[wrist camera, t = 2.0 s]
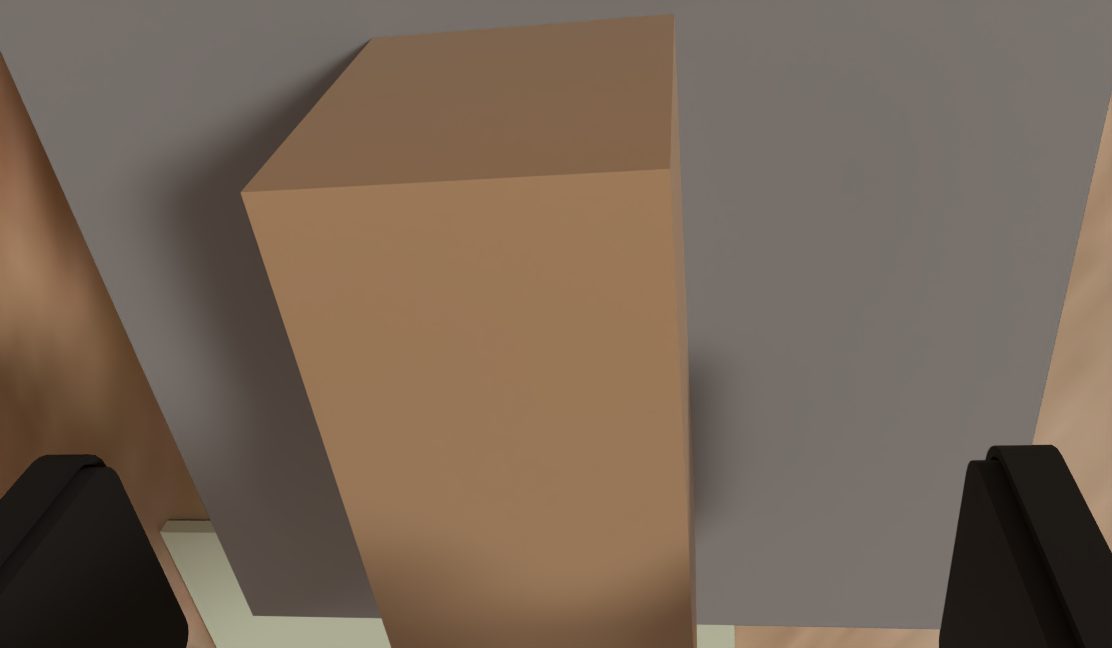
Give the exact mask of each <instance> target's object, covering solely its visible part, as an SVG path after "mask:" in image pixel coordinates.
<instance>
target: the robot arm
mask: <svg viewBox="0 0 1112 648" xmlns="http://www.w3.org/2000/svg"><path fill="white" fill-rule="evenodd" d="M187 642H188V624H187V621H186V618H185V616H184V614H183V612H182V610H181V607H180V605H179V603H178V601H177V599H176V597H175V595H174V593H173V590H172V588H171V586H170V584H169V582H168V580H167V578H166V576H165V574H164V571H163V569H162V567H161V565H160V563H159V561H158V559H157V557H156V555H155V552H154V550H153V548H152V546H151V544H150V542H149V540H148V538H147V535H146V533H145V531H144V529H143V527H142V525H141V523H140V521H139V519H138V516H137V514H136V512H135V510H134V508H133V506H132V504H131V502H130V499H129V497H128V495H127V493H126V491H125V489H124V487H123V485H122V483H121V480H120V478H119V476H118V475H117V473H116V472H115V470H113V469H112V468H110V467H107V466H106V465H105V463H104V462H103V461H102V459H100V458H99V457H97V456H96V455H89V454H86V455H45V456H42V457H39V458H38V459H37V460H35V461H34V462H33V463H32V464H31V465H30V466H29V467H28V468H27V470H26V471H25V472H24V473H23V474H22V475H21V476H20V478H19V479H18V480H17V481H16V482H15V483H14V484H13V486H12V487H11V488H10V489H9V490H8V491H7V493H6V494H5V495H4V496H3V497H2V498H1V499H0V648H186V646H187ZM939 648H1112V553H1111V551H1110V549H1109V547H1108V545H1107V543H1106V541H1105V539H1104V537H1103V535H1102V533H1101V531H1100V529H1099V527H1098V525H1097V523H1096V521H1095V519H1094V517H1093V515H1092V513H1091V511H1090V510H1089V508H1088V506H1087V504H1086V502H1085V500H1084V498H1083V496H1082V494H1081V492H1080V490H1079V488H1078V486H1077V484H1076V482H1075V480H1074V478H1073V476H1072V474H1071V472H1070V470H1069V468H1068V466H1067V465H1066V463H1065V461H1064V459H1063V457H1062V455H1061V453H1060V452H1059V450H1058V449H1057V448H1056V447H1054V446H1053V445H994V446H991V447H990V448H989V450H988V452H987V455H986V459H985V460H972V461H970V462H969V464H968V466H967V470H966V476H965V482H964V488H963V494H962V500H961V506H960V512H959V519H958V525H957V531H956V537H955V543H954V549H953V555H952V561H951V567H950V574H949V580H948V586H947V592H946V598H945V604H944V610H943V616H942V622H941V629H940V635H939Z"/></svg>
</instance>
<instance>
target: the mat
mask: <svg viewBox="0 0 1112 648" xmlns="http://www.w3.org/2000/svg"><path fill="white" fill-rule="evenodd" d="M160 534H161V536H162V538H163V540H164V542H165V544H166V546H167V548H168V550H169V552H170V554H171V556H172V558H173V560H174V562H175V564H176V566H177V568H178V570H179V572H180V574H181V576H182V578H183V580H184V582H185V584H186V587H187V589H188V591H189V593H190V595H191V597H192V599H193V601H194V603H195V605H196V607H197V609H198V611H199V613H200V615H201V617H202V619H203V621H204V623H205V625H206V627H207V629H208V631H209V633H210V635H211V637H212V639H213V641H214V643H215V645H216V647H217V648H391V646H390V643H389V640H388V637H387V634H386V631H385V628H384V625H383V622H382V618H334V617H282V616H253V615H252V613H251V610H250V608H249V606H248V604H247V602H246V599H245V597H244V595H243V593H242V590H241V588H240V586H239V584H238V581H237V579H236V577H235V575H234V572H233V570H232V568H231V566H230V563H229V561H228V559H227V557H226V555H225V552H224V550H223V548H222V546H221V543H220V541H219V539H218V537H217V534H216V532H215V530H214V528H213V525H212V523H211V521H166V523H165V525H164V526H163V528H162V530H161V531H160ZM697 648H735V644H734V625H697Z"/></svg>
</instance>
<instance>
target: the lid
mask: <svg viewBox="0 0 1112 648" xmlns="http://www.w3.org/2000/svg"><path fill="white" fill-rule="evenodd" d="M0 51H1V53H2V56H3V58H4V60H5V62H6V65H7V67H8V69H9V71H10V74H11V76H12V78H13V80H14V83H15V85H16V87H17V89H18V91H19V94H20V96H21V98H22V100H23V103H24V105H25V107H26V109H27V112H28V114H29V116H30V118H31V121H32V123H33V125H34V127H35V130H36V132H37V134H38V136H39V138H40V141H41V143H42V145H43V147H44V150H45V152H46V154H47V156H48V159H49V161H50V163H51V165H52V168H53V170H54V172H55V174H56V176H57V179H58V181H59V183H60V185H61V188H62V190H63V192H64V194H65V197H66V199H67V201H68V203H69V206H70V208H71V210H72V212H73V215H74V217H75V219H76V221H77V223H78V226H79V228H80V230H81V232H82V235H83V237H84V239H85V241H86V244H87V246H88V248H89V250H90V253H91V255H92V257H93V259H94V261H95V264H96V266H97V268H98V270H99V273H100V275H101V277H102V279H103V282H104V284H105V286H106V288H107V291H108V293H109V295H110V297H111V300H112V302H113V304H114V306H115V308H116V311H117V313H118V315H119V317H120V320H121V322H122V324H123V326H124V329H125V331H126V333H127V335H128V338H129V340H130V342H131V344H132V346H133V349H134V351H135V353H136V355H137V358H138V360H139V362H140V364H141V367H142V369H143V371H144V373H145V376H146V378H147V380H148V382H149V385H150V387H151V389H152V391H153V393H154V396H155V398H156V400H157V402H158V405H159V407H160V409H161V411H162V414H163V416H164V418H165V420H166V423H167V425H168V427H169V429H170V432H171V434H172V436H173V438H174V440H175V443H176V445H177V447H178V449H179V452H180V454H181V456H182V458H183V461H184V463H185V465H186V467H187V470H188V472H189V474H190V476H191V478H192V481H193V483H194V485H195V487H196V490H197V492H198V494H199V496H200V499H201V501H202V503H203V505H204V508H205V510H206V512H207V514H208V517H209V519H210V521H211V523H212V525H213V528H214V530H215V532H216V534H217V537H218V539H219V541H220V543H221V546H222V548H223V550H224V552H225V555H226V557H227V559H228V561H229V563H230V566H231V568H232V570H233V572H234V575H235V577H236V579H237V581H238V584H239V586H240V588H241V590H242V593H243V595H244V597H245V599H246V602H247V604H248V606H249V608H250V610H251V613H252V615H253V616H282V617H334V618H382V622H383V625H384V628H385V631H386V634H387V637H388V640H389V643H390V646H391V648H697V625H744V626H795V627H846V628H897V629H941V622H942V616H943V610H944V604H945V598H946V592H947V586H948V580H949V574H950V567H951V561H952V555H953V549H954V543H955V537H956V531H957V525H958V519H959V512H960V506H961V500H962V494H963V488H964V482H965V476H966V470H967V466H968V464H969V462H970V461H972V460H985V459H986V455H987V452H988V450H989V448H990V447H991V446H994V445H1032V442H1033V438H1034V433H1035V429H1036V424H1037V420H1038V416H1039V411H1040V407H1041V402H1042V398H1043V393H1044V389H1045V385H1046V380H1047V376H1048V371H1049V367H1050V362H1051V358H1052V354H1053V349H1054V345H1055V340H1056V336H1057V331H1058V327H1059V323H1060V318H1061V314H1062V309H1063V305H1064V300H1065V296H1066V292H1067V287H1068V283H1069V278H1070V274H1071V269H1072V265H1073V261H1074V256H1075V252H1076V247H1077V243H1078V238H1079V234H1080V230H1081V225H1082V221H1083V216H1084V212H1085V207H1086V203H1087V199H1088V194H1089V190H1090V185H1091V181H1092V176H1093V172H1094V168H1095V163H1096V159H1097V154H1098V150H1099V145H1100V141H1101V137H1102V132H1103V128H1104V123H1105V119H1106V115H1107V110H1108V106H1109V101H1110V97H1111V92H1112V0H0Z"/></svg>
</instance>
